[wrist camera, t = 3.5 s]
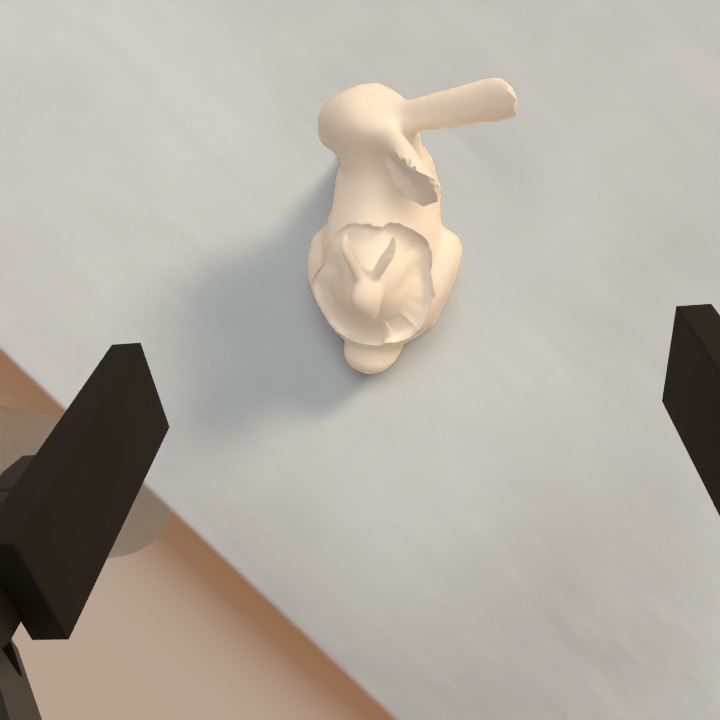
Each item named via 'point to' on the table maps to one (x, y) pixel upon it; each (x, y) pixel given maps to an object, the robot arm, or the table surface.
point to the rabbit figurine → (390, 215)
